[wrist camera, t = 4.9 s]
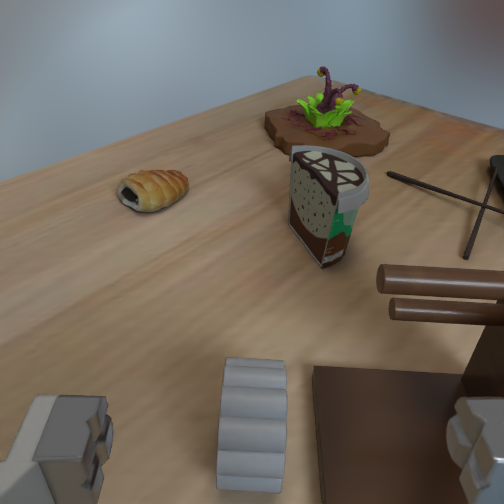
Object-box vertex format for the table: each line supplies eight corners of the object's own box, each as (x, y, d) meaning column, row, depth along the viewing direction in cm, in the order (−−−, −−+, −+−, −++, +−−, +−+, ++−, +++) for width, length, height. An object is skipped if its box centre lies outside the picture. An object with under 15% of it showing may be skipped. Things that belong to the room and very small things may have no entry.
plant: (341, 111, 94) (351, 50, 87) (404, 151, 79) (421, 82, 73) (247, 122, 87) (249, 57, 80) (297, 168, 72) (305, 94, 66)
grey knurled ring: (215, 513, 31) (216, 441, 26) (226, 406, 38) (227, 333, 33) (277, 516, 31) (288, 445, 26) (276, 409, 38) (285, 336, 33)
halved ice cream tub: (376, 266, 54) (396, 187, 48) (327, 276, 52) (341, 195, 46) (326, 211, 63) (337, 138, 57) (283, 218, 61) (290, 144, 55)
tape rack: (324, 534, 30) (418, 210, 16) (311, 377, 41) (362, 93, 26) (560, 548, 30) (858, 236, 16) (488, 387, 41) (635, 108, 26)
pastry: (169, 177, 68) (167, 152, 66) (201, 195, 65) (201, 169, 63) (113, 200, 63) (109, 174, 60) (145, 220, 59) (143, 193, 57)
